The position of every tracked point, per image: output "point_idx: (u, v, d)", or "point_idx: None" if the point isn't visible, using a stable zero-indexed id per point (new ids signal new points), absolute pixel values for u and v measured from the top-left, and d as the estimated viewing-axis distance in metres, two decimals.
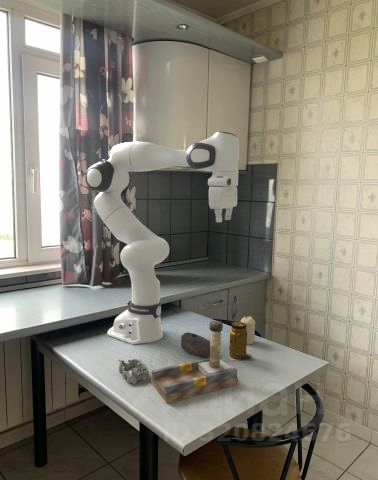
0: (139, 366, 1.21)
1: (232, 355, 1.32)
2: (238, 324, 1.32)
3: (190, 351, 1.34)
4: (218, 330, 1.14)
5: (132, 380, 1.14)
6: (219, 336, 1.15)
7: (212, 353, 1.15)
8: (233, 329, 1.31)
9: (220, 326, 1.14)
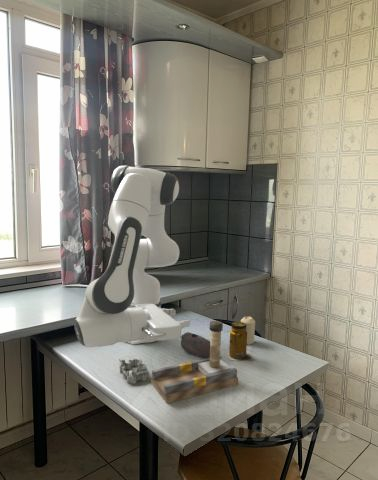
0: (140, 366, 1.21)
1: (232, 355, 1.32)
2: (238, 324, 1.32)
3: (190, 351, 1.34)
4: (218, 330, 1.14)
5: (132, 380, 1.14)
6: (219, 336, 1.15)
7: (212, 353, 1.15)
8: (233, 329, 1.31)
9: (220, 326, 1.14)
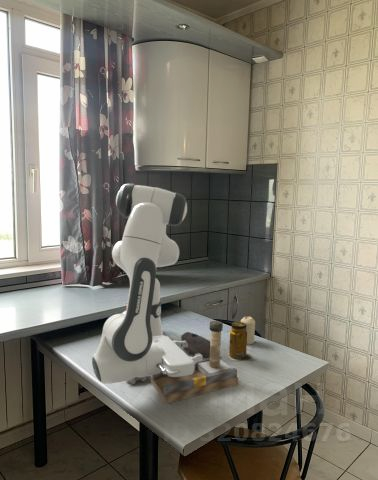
0: None
1: (232, 355, 1.32)
2: (238, 324, 1.32)
3: (190, 351, 1.34)
4: (218, 330, 1.14)
5: (131, 380, 1.14)
6: (219, 336, 1.15)
7: (212, 353, 1.15)
8: (233, 329, 1.31)
9: (220, 326, 1.14)
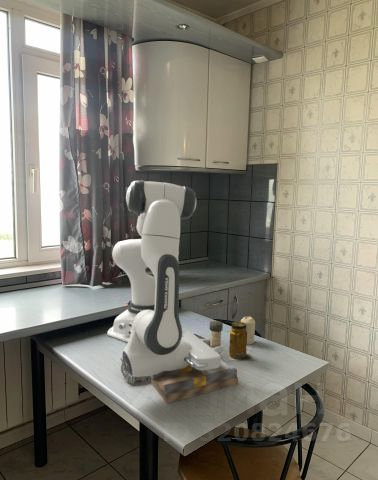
0: None
1: (232, 355, 1.32)
2: (238, 324, 1.32)
3: None
4: (218, 330, 1.14)
5: (131, 380, 1.14)
6: (219, 336, 1.15)
7: None
8: (233, 329, 1.31)
9: (220, 326, 1.14)
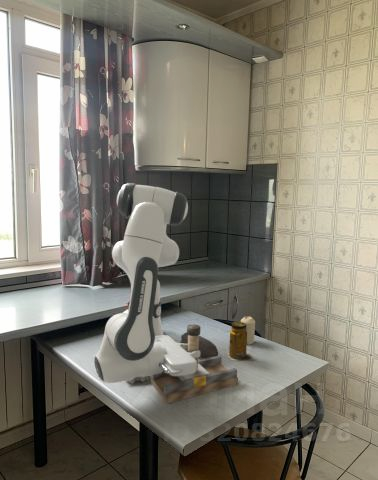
0: None
1: (232, 355, 1.32)
2: (238, 324, 1.32)
3: None
4: (195, 334, 1.10)
5: (130, 380, 1.14)
6: (197, 340, 1.11)
7: None
8: (233, 329, 1.31)
9: (197, 330, 1.10)
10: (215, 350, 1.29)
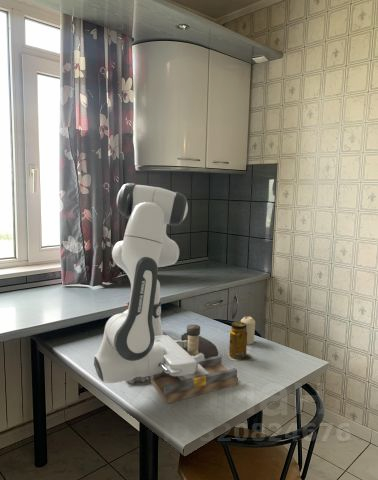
0: None
1: (232, 355, 1.32)
2: (238, 324, 1.32)
3: None
4: (195, 334, 1.10)
5: (129, 380, 1.14)
6: (196, 340, 1.11)
7: None
8: (233, 329, 1.31)
9: (197, 330, 1.10)
10: (215, 350, 1.29)
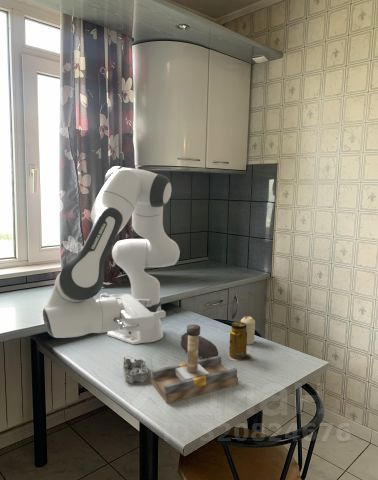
0: (142, 367, 1.21)
1: (232, 355, 1.32)
2: (238, 324, 1.32)
3: None
4: (195, 334, 1.10)
5: (129, 380, 1.14)
6: (196, 340, 1.11)
7: (189, 357, 1.12)
8: (233, 329, 1.31)
9: (197, 330, 1.10)
10: (215, 350, 1.29)
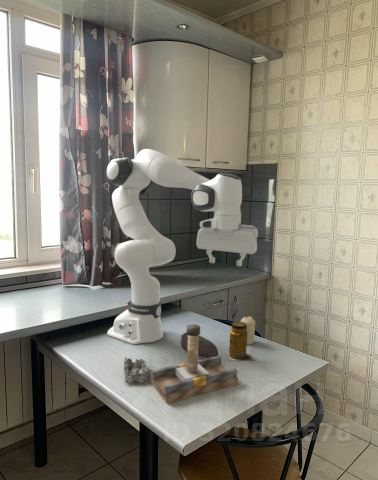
0: (143, 367, 1.21)
1: (232, 355, 1.32)
2: (238, 324, 1.32)
3: None
4: (195, 334, 1.10)
5: (128, 379, 1.14)
6: (196, 340, 1.11)
7: (189, 357, 1.12)
8: (233, 329, 1.31)
9: (197, 330, 1.10)
10: (215, 350, 1.29)
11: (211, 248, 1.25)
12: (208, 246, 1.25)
